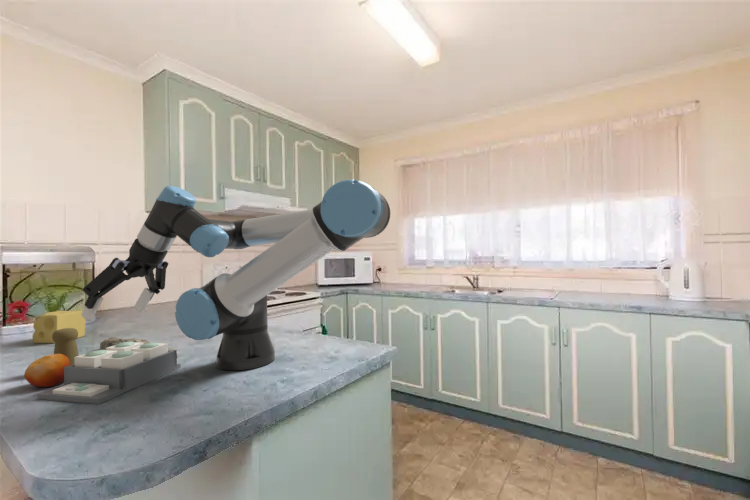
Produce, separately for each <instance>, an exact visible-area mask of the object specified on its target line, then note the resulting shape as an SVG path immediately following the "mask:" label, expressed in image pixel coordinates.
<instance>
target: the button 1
mask: <svg viewBox="0 0 750 500" xmlns="http://www.w3.org/2000/svg"><path fill="white" fill-rule="evenodd" d="M114 353H117V351H108V350H103V349H102V350H101V349H97V350H93V351H88V352H86V353H84V354H81V355H80V354H79V356H76V357H74V359H75V366H76V367H94V368H95V367H98V366H101V358H104V357H107V356H110V355H112V354H114Z"/></svg>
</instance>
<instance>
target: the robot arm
mask: <svg viewBox="0 0 750 500" xmlns="http://www.w3.org/2000/svg"><path fill="white" fill-rule="evenodd" d="M196 202H197V198H196V197H195V196H194V194H191V192H189V191H187V190H185V189H183V188H181V187H178V186H174V185H166V186H165V187H163V189H162V190H161V191H160V194H159V195H158V196H157V197H156V199H155V201H154V204H153V206H152V208H151V210H150V212H149V214H148V216H147V217H146V219H145V221H144V223H143V224H142V226H141V228H140V230H139V232H138V233H137V236H136V237H137V238H135V239H134V241H133V242H132V244H131V247H130V248H129V251H128V252H129V253H128V254H129V255H128V257H127V258H126V259H125V260H124V259H123V260H122V259H120V258H119V257H114V258H113V259H112V260H111V261H110V264H108V266H107V267H105V268H104V269H103V270H102V271H101V272H100V273H98V275H97V276H95V277H94V278H93V279H92V280H90V282H88V284H86V285H85V286H84V287H83V288H82V292H83V293H84V294H86V295H87V296H88V297H87V298H86V301H85V303H84V307H83V308H84V309H83V310H82V311H83V312H82V314H81V315H82V316H83V317H84V318H85V321H87V322H92V320H93V319H94V318H95V316H96V313H97V312H98V310H99V308H100V306H101V304H102V302H103V300H104V297H103V296H105V295H106V294H108V293H109V292H111V291H112V290H113V289H114V288H116V287H117V286H119V285H120V284H122V283H123V282H125V281H129V280H131V279H132V278H133V279H134V278H144V279H145V282H146V285H147V287H144V288H143V290H142V292H141V294H140V295H139V297H138V299H137V301H136V302H135V304H134V305H133V308H134V309H135V310H136V311H138V313H140V314H142V313H143V312H144V311H145V310H146V307H147V306H148V304H149V302H150V301H151V300H152V298H153V297H154V296H155V294H156V295H159V294H160V293H161V291H162V290H164V289H165V287H166V274H167V268H168V265H169V262H168V261H166V259H165V258H166V256H167V254H168V252H169V250H171V247H172V245H173V244H174V242H175V240H176V239H177V237H178V238H180V239H181V240H182V241H183V242H185V243H186V245H188V246H190V247H191V248H192V249H193V250H194V251H196V253H199V254H201V255H202V256H204V257H205V258H214V257H215V256H217V255H220V254H221V253H223V251H224V250H233V249H234V250H244V249H246V248H250V247H257V246H264V245H265V246H266V245H271V246H269V247H268V248H267V249H265V250H264V251H262V252H261V253H260V254H258V255H257V256H255V257H254V258H252V259H251V260H250V261H249V262H247V263H246V264H244V265H243V266H241V267H240V268H239V269H237V270H236V271H234V272H232V273H227V272H226V273H225V272H224V273H220V274H219V275H217V276H216V277H214V278H213V279H212V280H210V281H209V282H207V283H206V284H205V285H203V286H201V287H195V288H194V287H193V288H191V289H188V290H186V291H184V292H183V293H181V294H180V296H179V297H178V299H177V301H176V304H175V312H174V314H175V316H174V317H175V321H176V324H177V326H178V328H179V329H180V331H181V332H182V334H184V335H185V336H186V337H188V338H190V339H193V340H194V341H204V340H211V339H213V338H214V337H216V336H219V335H221V334H222V338H221V342H220V344H219V348H218V350H217V354H216V360H215V362H216V367H217V368H218V369H220V370H223V371H224V370H225V371H245V370H252V369H257V368H260V367H263V366H266V365H268V364H270V363H273V362H274V361H275V359H276V354H275V353H276V352H275V348H274V344H273V342H272V340H271V337H270V333H269V330H268V329H269V327H268V323H269V322H268V295H269V294H271V293H272V292H274V291H276V290H277V289H278V288H280V287H281V286H283V285H284V284H285V283H287V282H288V281H290V280H291V279H293V278H294V277H295V276H296V277H297V275H299V274H300V273H301V272H303V271H305V270H307V269H308V268H309V267H310V266H312V265H314V264H315V263H317V262H318V261H319V260H321V259H322V258H324V257H325V256H327V255H328V254H330V253H331V252H333V251H337V252H345V251H346V250H348V249H349V248H351V247H352V246H354V245H355V244H357V243H358V242H360V241H362V240H363V239H369V238H373V237H377V236H379V235H380V234H381V233H383V232H384V231H385V230H386V228H387V227H388V226H389V223H390V219H391V208H390V204H389V203H388V201H387V199H386V198H385V196H384V195H382V193H380V192H379V191H377V190H376V189H375V187H374V186H372V185H370V184H369V183H367V182H365V181H362V180H359V179H358V180H357V179H344V180H340V181H338V182H336V183H334V184H332V185H331V186H330V187H329V188H328V189H327V190H326V191H325V193H324V195H323V196H322V200H321V201H320V202H319V203H318V204H316V205H315V206H314V207H312V208H311V209H304V210H298V211H291V212H285V213H279V214H273V215H272V214H271V215H267V216H266V215H265V216H260V217H253V218H246V219H239V220H231V221H230V220H222V219H213V218H212V219H211V218H208V217H206V216H205V215H203V214H202V213H200V212H199V211H198V210H196V209H195V205H196ZM154 270H155V272H154ZM124 272H125V273H124Z"/></svg>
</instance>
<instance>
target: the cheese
mask: <svg viewBox="0 0 750 500" xmlns="http://www.w3.org/2000/svg"><path fill="white" fill-rule="evenodd" d="M82 312H83V310H60V311H59V310H57V311H51V312H46V313H43V314H42V315H40V316H39V317H38V318H37V320H34V322H33V330H34V332H33V333H32V342H33V343H34V344H55V342H54V341H53V339H52V335H53V333H54V332H55V331H57V330H60V329H64V328H75V329H76V330H77V331H78V337H77V339H78V338H83V337H85V336H86V335H85V334H86V319H85V318H84V317H83V316H82V315H81V314H82Z"/></svg>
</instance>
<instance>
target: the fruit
mask: <svg viewBox="0 0 750 500" xmlns="http://www.w3.org/2000/svg"><path fill="white" fill-rule="evenodd" d="M70 365H71V364H70V361H69V359H68V357H67V356H65V355H63V354H54V353H51V354H48V355H44V356H42V357H39V358H37V359H36V360H34V361H33V362H32V363H31V364H29V365H28V366H27V367H26V369H25V372H24V375H23V377H24V379H25V380H26V381H27V382H28V384H30V385H31V386H33V387H36V388H51V387H55V386H58V385H60V384H62V383H64V367H66V366H70Z"/></svg>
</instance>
